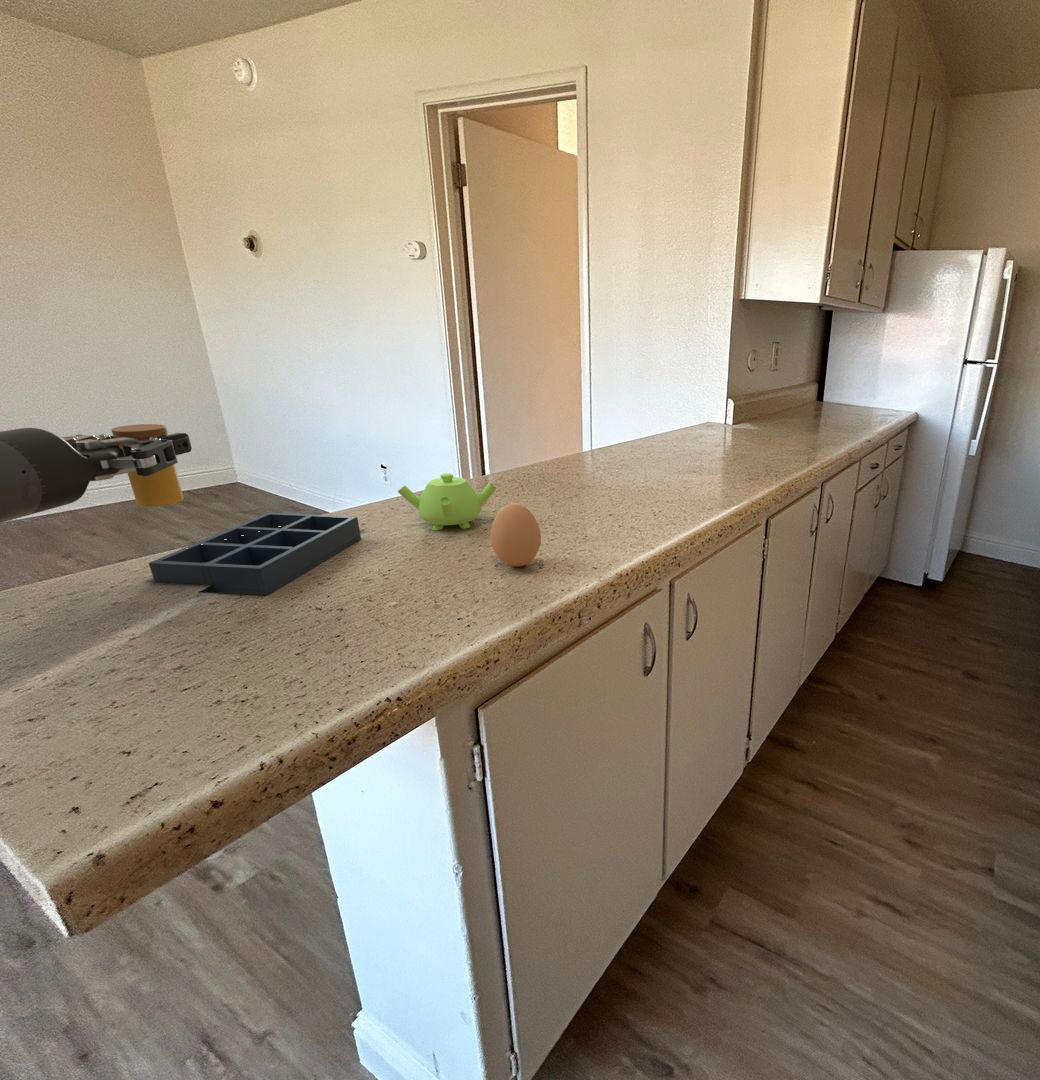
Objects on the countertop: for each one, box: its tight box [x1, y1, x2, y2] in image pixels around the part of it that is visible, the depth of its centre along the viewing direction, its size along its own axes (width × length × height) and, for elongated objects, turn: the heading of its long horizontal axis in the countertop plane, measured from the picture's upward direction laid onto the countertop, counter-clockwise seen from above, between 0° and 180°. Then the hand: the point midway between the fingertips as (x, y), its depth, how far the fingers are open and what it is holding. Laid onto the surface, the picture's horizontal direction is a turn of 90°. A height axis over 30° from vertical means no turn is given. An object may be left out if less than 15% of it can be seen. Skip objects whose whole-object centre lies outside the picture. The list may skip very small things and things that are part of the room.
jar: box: [111, 423, 185, 508], centre depth 66 cm, size 4×4×8 cm
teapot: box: [397, 472, 498, 531], centre depth 97 cm, size 11×12×8 cm
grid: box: [148, 512, 362, 596], centre depth 80 cm, size 13×20×4 cm
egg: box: [490, 502, 542, 568], centre depth 82 cm, size 7×7×9 cm
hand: (166, 440), depth 68 cm, fingers closed on jar, 4 cm apart
